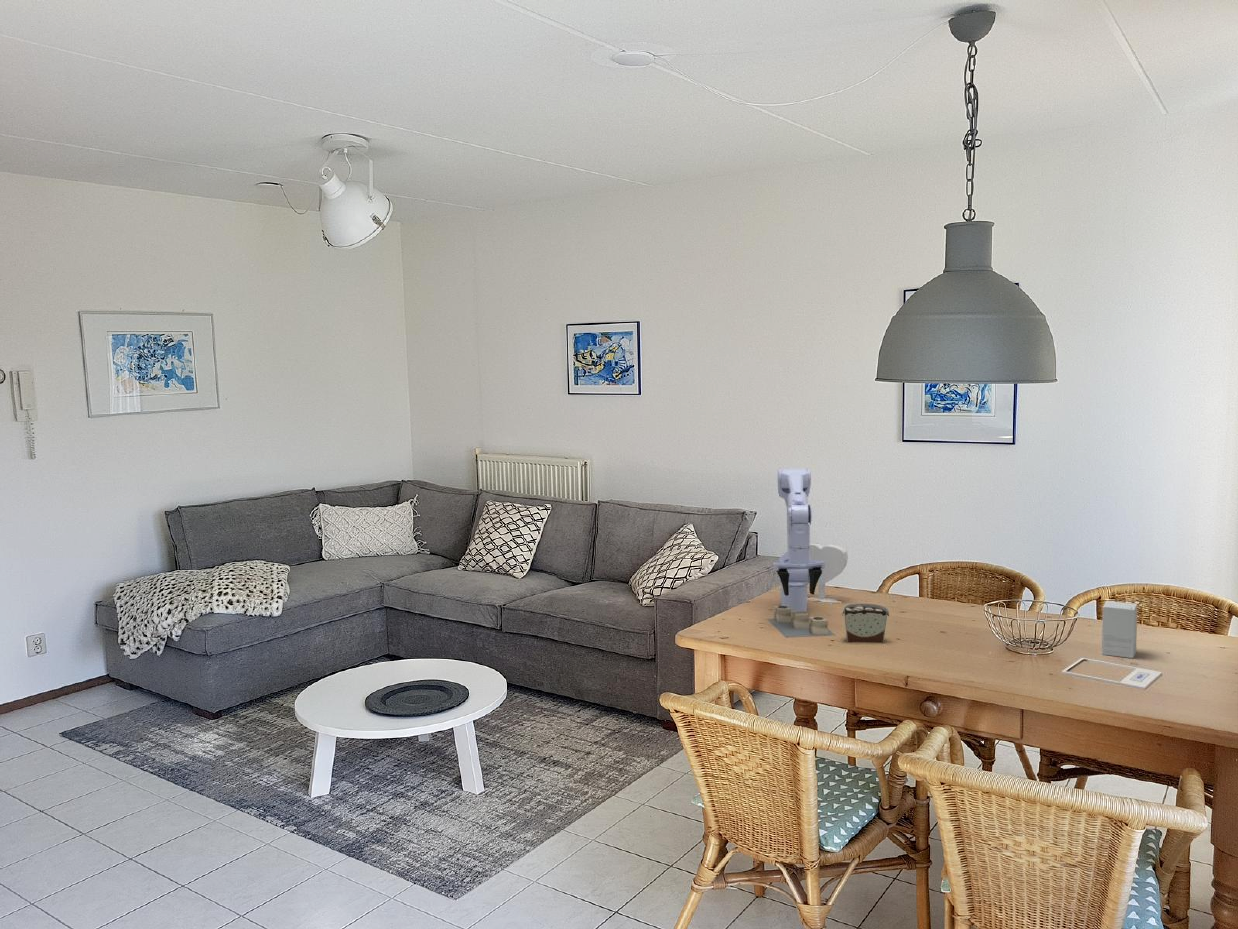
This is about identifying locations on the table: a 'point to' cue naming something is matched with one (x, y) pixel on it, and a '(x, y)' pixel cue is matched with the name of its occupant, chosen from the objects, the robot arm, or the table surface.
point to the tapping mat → (794, 630)
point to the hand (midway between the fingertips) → (799, 594)
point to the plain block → (799, 619)
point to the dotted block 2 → (818, 625)
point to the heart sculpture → (828, 565)
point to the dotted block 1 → (782, 614)
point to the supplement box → (1119, 629)
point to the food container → (865, 622)
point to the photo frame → (1134, 679)
